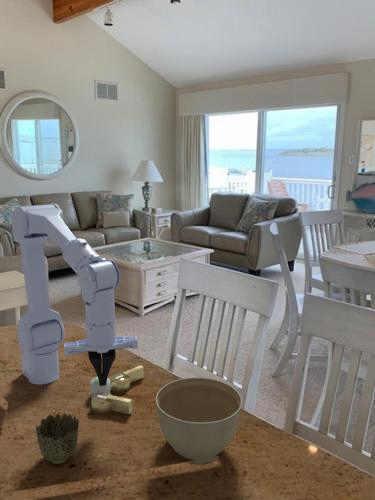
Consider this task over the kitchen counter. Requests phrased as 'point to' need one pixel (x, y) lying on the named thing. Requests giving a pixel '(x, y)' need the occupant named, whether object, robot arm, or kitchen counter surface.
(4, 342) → the kitchen counter surface
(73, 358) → the kitchen counter surface
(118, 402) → the front knob
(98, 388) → the plate
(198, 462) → the planter bowl
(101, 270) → the robot arm
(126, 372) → the back knob
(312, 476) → the kitchen counter surface
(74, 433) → the cup
